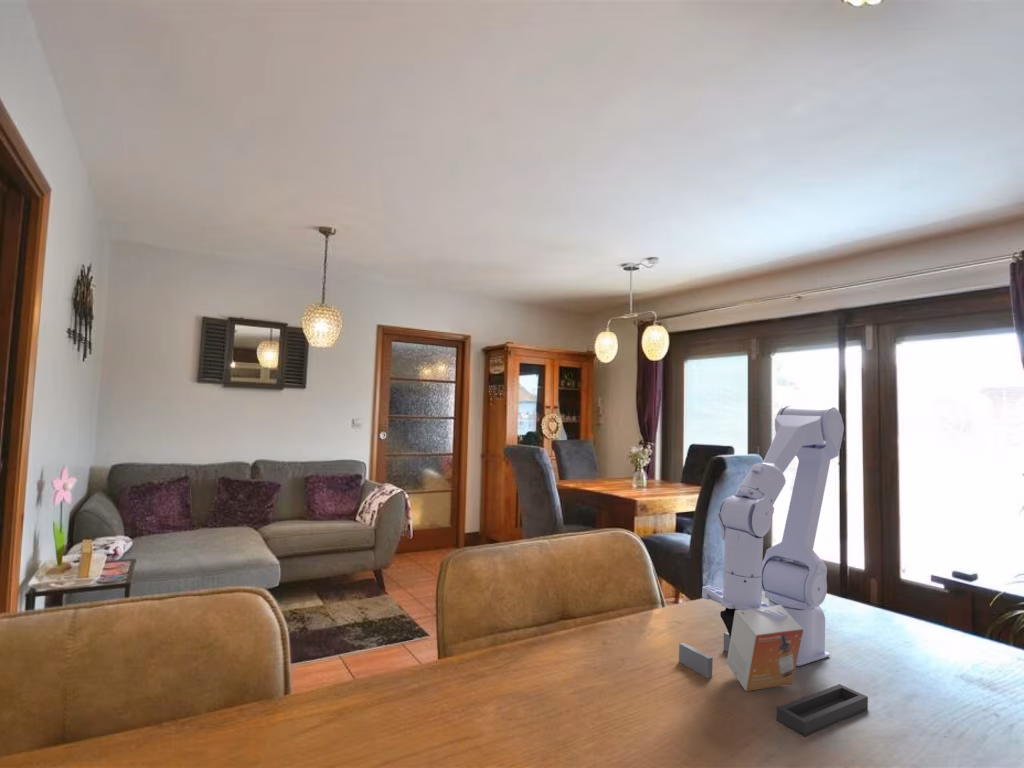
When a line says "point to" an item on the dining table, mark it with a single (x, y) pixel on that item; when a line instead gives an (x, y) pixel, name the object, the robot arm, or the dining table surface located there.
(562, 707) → the dining table surface
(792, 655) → the small box
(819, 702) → the tray
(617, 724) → the dining table surface
